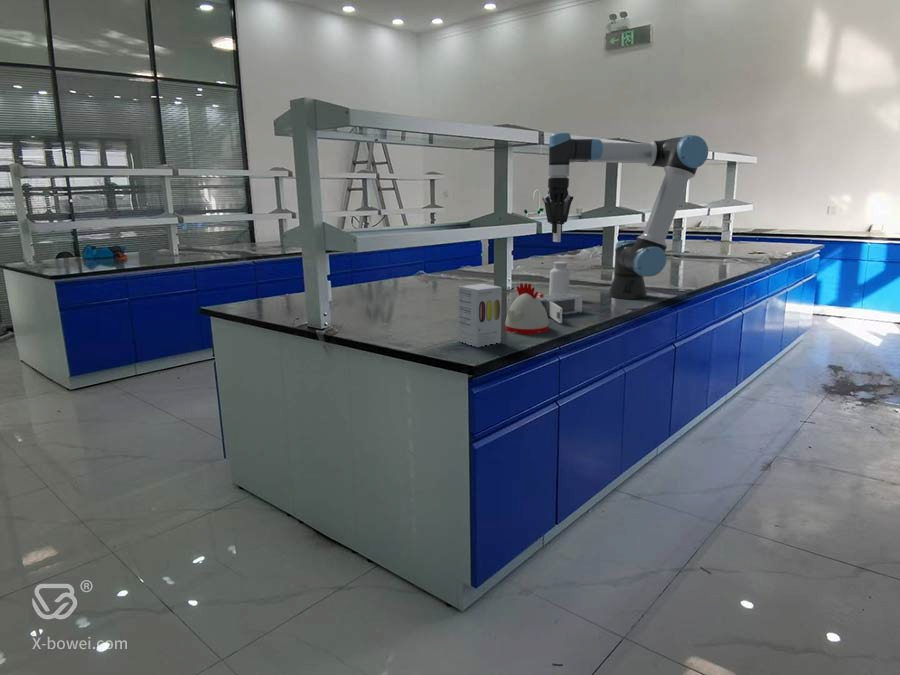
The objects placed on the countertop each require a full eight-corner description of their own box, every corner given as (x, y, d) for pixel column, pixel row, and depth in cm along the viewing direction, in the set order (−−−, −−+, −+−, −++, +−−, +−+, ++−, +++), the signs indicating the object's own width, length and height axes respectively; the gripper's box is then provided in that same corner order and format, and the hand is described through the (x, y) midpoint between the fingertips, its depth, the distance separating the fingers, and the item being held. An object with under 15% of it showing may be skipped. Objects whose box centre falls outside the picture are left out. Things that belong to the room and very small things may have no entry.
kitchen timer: (524, 322, 205) (525, 278, 201) (557, 329, 195) (558, 283, 192) (496, 329, 196) (496, 283, 192) (529, 336, 186) (530, 288, 182)
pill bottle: (568, 300, 243) (570, 263, 240) (548, 300, 245) (549, 263, 241) (569, 297, 251) (570, 261, 247) (549, 296, 252) (550, 260, 249)
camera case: (564, 307, 229) (565, 290, 228) (582, 312, 221) (582, 294, 219) (523, 312, 221) (524, 294, 219) (540, 317, 212) (541, 298, 211)
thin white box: (562, 323, 202) (563, 307, 200) (557, 323, 201) (558, 308, 200) (551, 316, 214) (552, 301, 212) (547, 316, 214) (547, 301, 212)
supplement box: (476, 348, 173) (476, 289, 169) (457, 341, 180) (456, 285, 176) (502, 343, 179) (502, 286, 174) (482, 337, 186) (482, 282, 182)
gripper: (566, 177, 229) (563, 240, 235) (538, 177, 223) (536, 241, 229) (579, 177, 223) (576, 241, 229) (550, 177, 217) (548, 243, 223)
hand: (556, 241), depth 229 cm, fingers closed
